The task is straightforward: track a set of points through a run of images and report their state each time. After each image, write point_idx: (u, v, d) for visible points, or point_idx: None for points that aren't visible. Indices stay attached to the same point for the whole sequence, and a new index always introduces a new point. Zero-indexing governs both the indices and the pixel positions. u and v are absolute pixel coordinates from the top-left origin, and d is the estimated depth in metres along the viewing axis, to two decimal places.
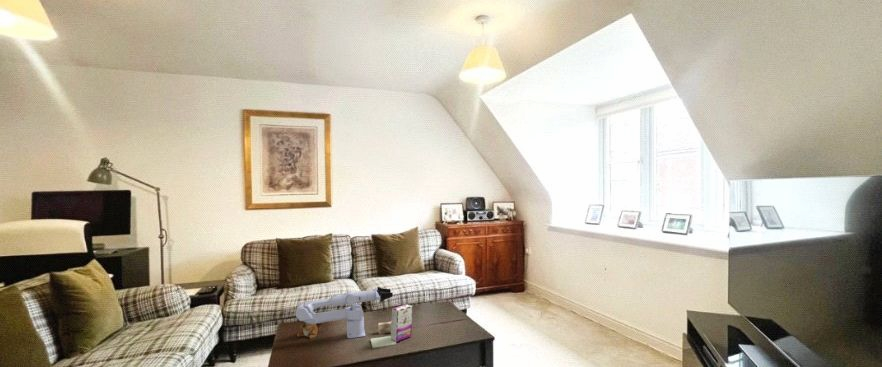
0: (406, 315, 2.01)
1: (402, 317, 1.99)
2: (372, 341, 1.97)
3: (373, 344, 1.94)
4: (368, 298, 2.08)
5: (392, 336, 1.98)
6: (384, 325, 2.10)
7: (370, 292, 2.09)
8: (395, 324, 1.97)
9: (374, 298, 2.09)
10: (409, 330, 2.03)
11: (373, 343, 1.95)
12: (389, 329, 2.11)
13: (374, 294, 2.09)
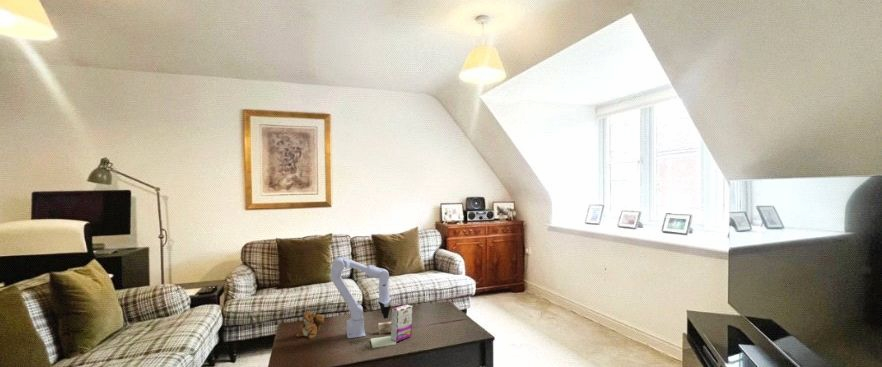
0: (406, 315, 2.01)
1: (402, 317, 1.99)
2: (372, 341, 1.97)
3: (373, 344, 1.94)
4: (383, 293, 2.09)
5: (392, 336, 1.98)
6: (384, 325, 2.10)
7: (388, 295, 2.11)
8: (395, 324, 1.97)
9: (382, 299, 2.09)
10: (409, 331, 2.03)
11: (373, 343, 1.95)
12: (389, 329, 2.11)
13: (386, 299, 2.09)
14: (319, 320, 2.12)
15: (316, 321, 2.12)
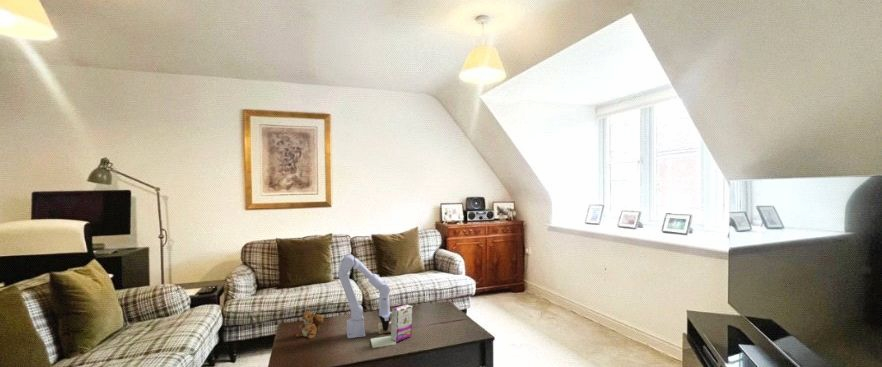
0: (406, 315, 2.01)
1: (402, 317, 1.99)
2: (372, 341, 1.97)
3: (373, 344, 1.94)
4: (383, 307, 2.09)
5: (392, 336, 1.98)
6: None
7: (388, 308, 2.11)
8: (395, 324, 1.97)
9: (383, 313, 2.09)
10: (409, 331, 2.03)
11: (373, 343, 1.95)
12: (389, 329, 2.11)
13: (387, 313, 2.09)
14: (318, 320, 2.12)
15: (315, 321, 2.12)
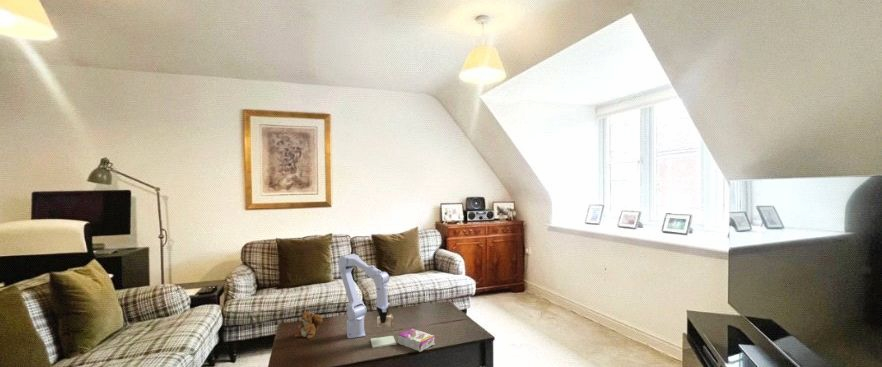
0: None
1: None
2: (372, 341, 1.97)
3: (373, 344, 1.94)
4: (381, 298, 1.96)
5: (399, 338, 1.94)
6: None
7: (386, 299, 1.98)
8: (409, 345, 1.90)
9: (380, 304, 1.96)
10: None
11: (373, 343, 1.95)
12: (388, 323, 1.99)
13: (384, 304, 1.97)
14: (317, 320, 2.12)
15: (314, 321, 2.12)
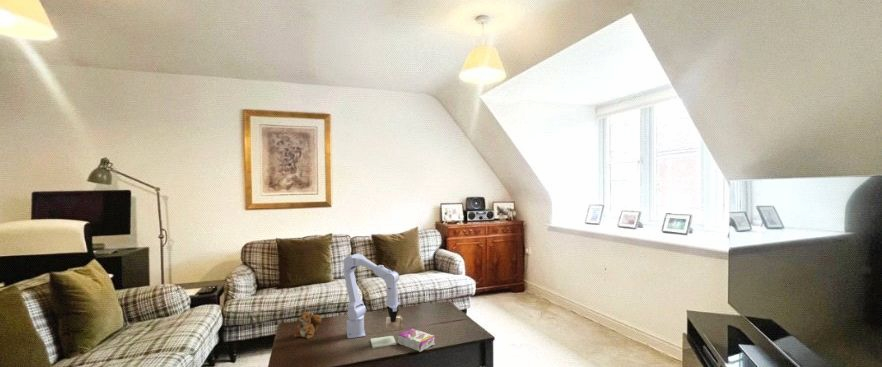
0: None
1: None
2: (372, 341, 1.97)
3: (373, 344, 1.94)
4: (391, 297, 1.97)
5: (399, 338, 1.94)
6: None
7: (396, 298, 1.99)
8: (409, 345, 1.90)
9: (390, 303, 1.97)
10: None
11: (373, 343, 1.95)
12: (397, 324, 2.00)
13: (395, 303, 1.98)
14: (316, 320, 2.12)
15: (313, 321, 2.11)
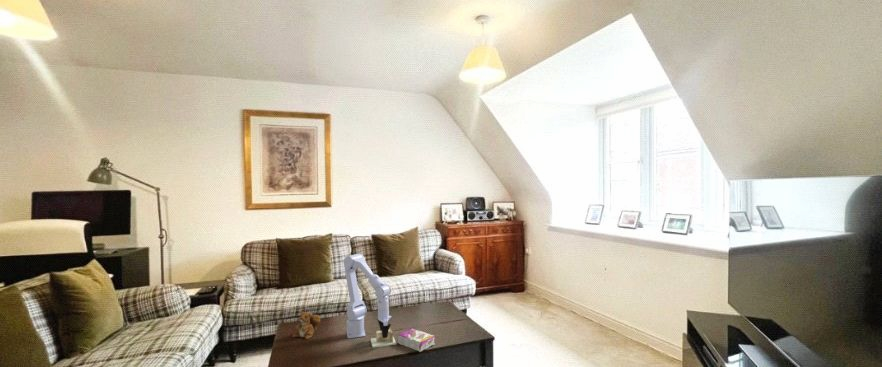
0: None
1: None
2: (372, 341, 1.97)
3: (373, 344, 1.94)
4: (382, 311, 1.95)
5: (399, 338, 1.94)
6: None
7: (388, 312, 1.97)
8: (409, 345, 1.90)
9: (381, 317, 1.95)
10: None
11: (373, 343, 1.95)
12: (387, 337, 1.97)
13: (386, 317, 1.96)
14: (316, 320, 2.12)
15: (312, 321, 2.11)
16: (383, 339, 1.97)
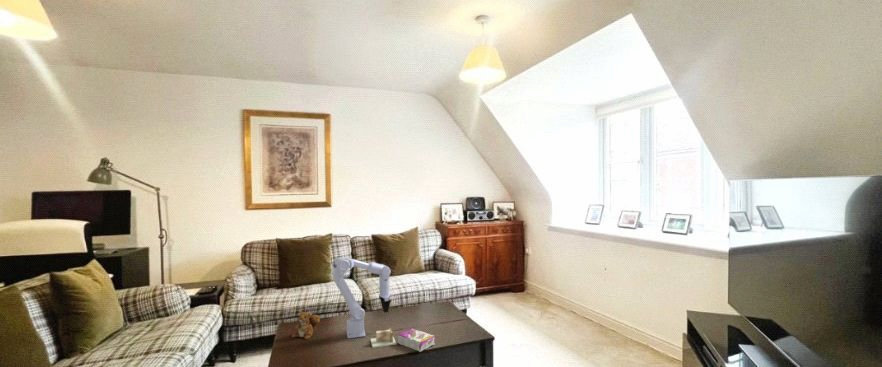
0: None
1: None
2: (372, 341, 1.97)
3: (373, 344, 1.94)
4: (383, 288, 2.14)
5: (399, 338, 1.94)
6: (382, 333, 1.97)
7: (388, 289, 2.16)
8: (409, 345, 1.90)
9: (383, 294, 2.14)
10: None
11: (373, 343, 1.95)
12: (387, 337, 1.97)
13: (387, 294, 2.15)
14: (315, 320, 2.12)
15: (312, 321, 2.11)
16: (383, 339, 1.97)
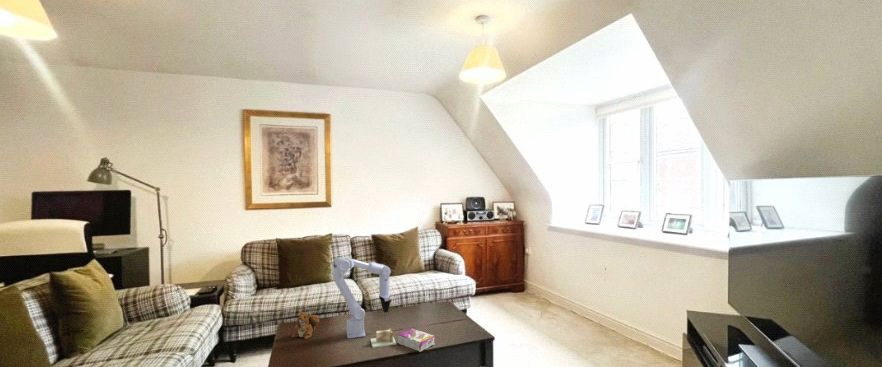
0: None
1: None
2: (372, 341, 1.97)
3: (373, 344, 1.94)
4: (383, 288, 2.14)
5: (399, 338, 1.94)
6: (382, 333, 1.97)
7: (388, 289, 2.16)
8: (409, 345, 1.90)
9: (383, 294, 2.14)
10: None
11: (373, 343, 1.95)
12: (387, 337, 1.97)
13: (387, 294, 2.15)
14: (314, 320, 2.12)
15: (311, 321, 2.11)
16: (383, 339, 1.97)
